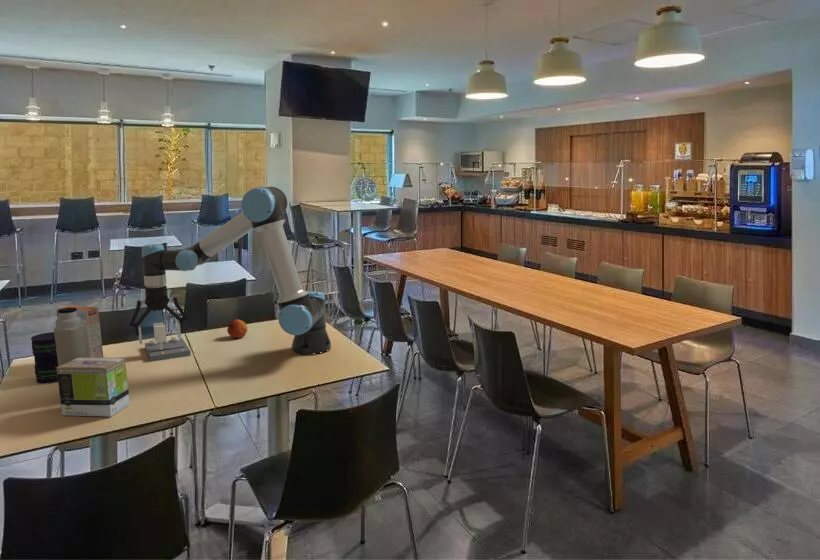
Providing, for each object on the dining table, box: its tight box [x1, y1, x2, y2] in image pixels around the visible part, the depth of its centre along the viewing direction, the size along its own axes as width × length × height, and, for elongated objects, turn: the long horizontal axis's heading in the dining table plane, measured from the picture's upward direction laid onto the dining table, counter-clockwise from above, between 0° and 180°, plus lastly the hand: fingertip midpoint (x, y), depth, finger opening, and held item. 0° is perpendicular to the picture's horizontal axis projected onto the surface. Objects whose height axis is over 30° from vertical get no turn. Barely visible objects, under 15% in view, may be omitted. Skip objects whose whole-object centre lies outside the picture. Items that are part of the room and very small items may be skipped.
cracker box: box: [56, 304, 104, 358], centre depth 208 cm, size 14×6×21 cm, turn 71°
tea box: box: [56, 357, 130, 418], centre depth 166 cm, size 15×10×15 cm, turn 84°
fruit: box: [226, 318, 248, 339], centre depth 241 cm, size 8×8×8 cm
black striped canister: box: [30, 331, 58, 385], centre depth 192 cm, size 10×10×15 cm
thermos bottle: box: [53, 307, 88, 366], centre depth 175 cm, size 8×8×28 cm
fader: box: [152, 322, 167, 350], centre depth 217 cm, size 6×4×10 cm, turn 30°
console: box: [144, 336, 192, 362], centre depth 223 cm, size 20×14×4 cm
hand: (160, 340), depth 217 cm, fingers open, 13 cm apart
